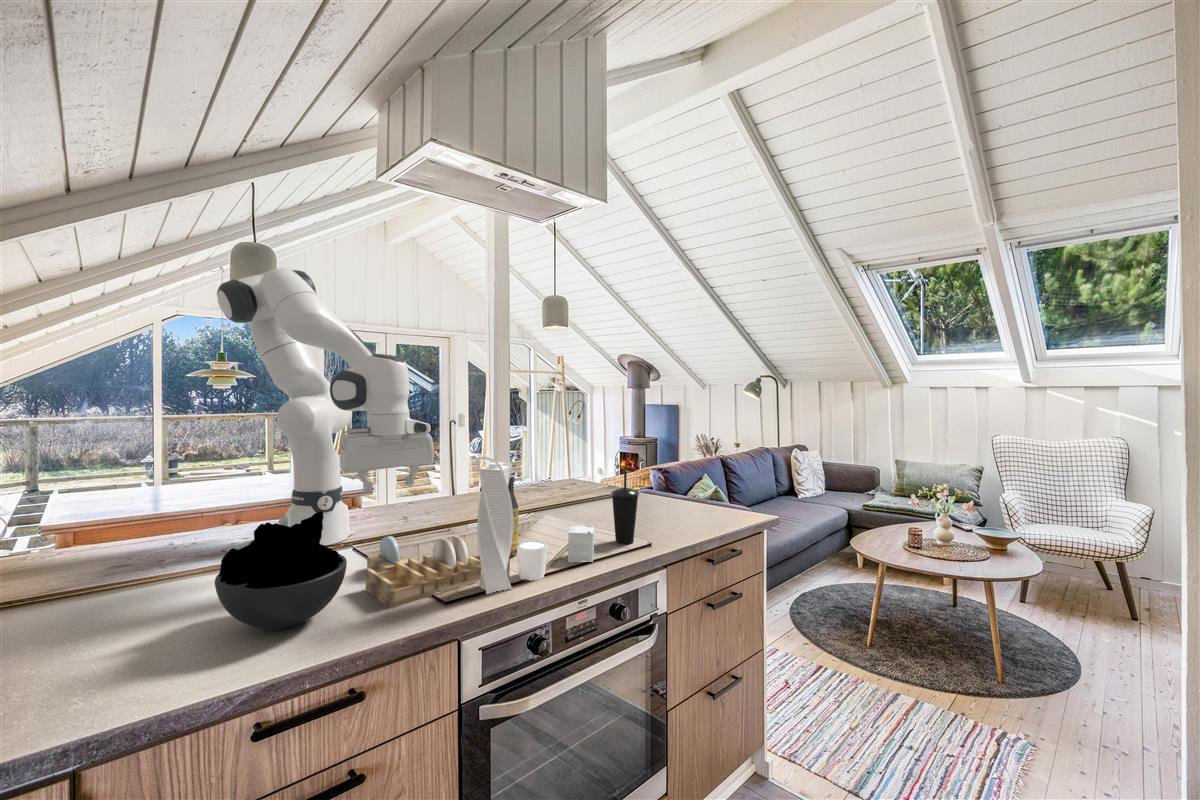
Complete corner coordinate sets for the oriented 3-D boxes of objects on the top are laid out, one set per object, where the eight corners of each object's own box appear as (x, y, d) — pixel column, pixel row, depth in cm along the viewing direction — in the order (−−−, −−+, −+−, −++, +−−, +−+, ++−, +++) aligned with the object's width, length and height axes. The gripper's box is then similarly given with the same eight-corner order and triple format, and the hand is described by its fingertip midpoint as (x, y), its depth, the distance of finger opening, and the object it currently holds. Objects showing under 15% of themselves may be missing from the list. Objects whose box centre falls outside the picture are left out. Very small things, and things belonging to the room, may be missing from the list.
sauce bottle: (512, 560, 129) (513, 479, 129) (488, 558, 131) (488, 477, 130) (521, 551, 136) (522, 474, 135) (498, 549, 137) (499, 473, 136)
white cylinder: (510, 576, 119) (510, 545, 119) (533, 568, 124) (534, 538, 124) (529, 584, 114) (530, 552, 114) (553, 576, 119) (553, 545, 119)
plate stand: (367, 568, 122) (367, 556, 122) (392, 562, 126) (392, 551, 126) (386, 581, 115) (386, 568, 115) (412, 574, 119) (412, 562, 119)
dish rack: (365, 590, 110) (365, 547, 110) (452, 567, 124) (453, 528, 124) (390, 608, 101) (390, 561, 101) (481, 581, 116) (481, 540, 115)
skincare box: (570, 554, 134) (570, 525, 134) (594, 555, 134) (594, 526, 134) (567, 562, 128) (568, 532, 128) (592, 563, 128) (593, 533, 128)
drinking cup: (620, 536, 150) (621, 465, 150) (643, 541, 146) (644, 468, 145) (605, 542, 144) (605, 469, 144) (628, 548, 140) (629, 472, 139)
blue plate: (379, 567, 123) (379, 533, 123) (384, 566, 124) (384, 532, 123) (394, 577, 117) (394, 541, 117) (399, 576, 118) (400, 540, 118)
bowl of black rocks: (215, 665, 81) (214, 542, 80) (215, 617, 97) (213, 514, 96) (357, 630, 92) (357, 523, 92) (336, 592, 108) (335, 501, 108)
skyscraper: (481, 597, 107) (482, 459, 106) (469, 585, 113) (470, 454, 112) (518, 590, 111) (519, 456, 110) (505, 578, 117) (505, 452, 116)
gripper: (345, 430, 110) (346, 496, 110) (437, 424, 124) (437, 483, 125) (334, 428, 114) (335, 492, 115) (424, 423, 129) (424, 480, 129)
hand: (389, 487), depth 120 cm, fingers open, 8 cm apart
